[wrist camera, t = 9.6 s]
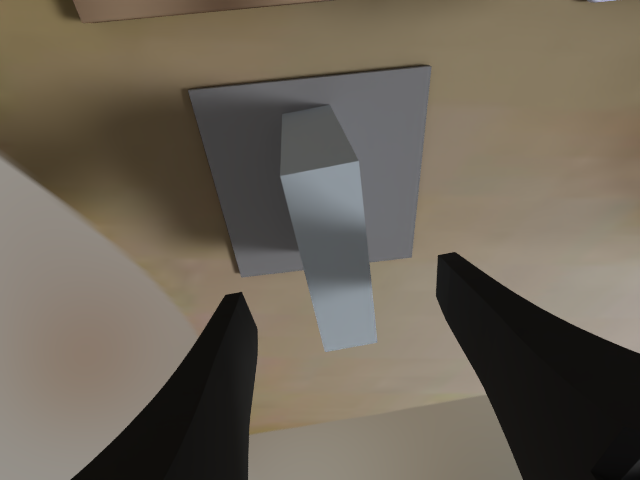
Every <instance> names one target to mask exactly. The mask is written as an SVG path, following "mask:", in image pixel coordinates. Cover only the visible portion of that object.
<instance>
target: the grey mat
mask: <svg viewBox="0 0 640 480" xmlns="http://www.w3.org/2000/svg"><path fill="white" fill-rule="evenodd" d="M430 75H431V66H429V65H426V66H416V67H406V68H396V69H386V70H376V71H366V72H356V73H346V74H337V75H327V76H317V77H307V78H297V79H287V80H277V81H267V82H257V83H247V84H237V85H227V86H217V87H207V88H197V89H190V90H188V92H189V96H190V99H191V103H192V106H193V110H194V113H195V117H196V120H197V124H198V127H199V131H200V134H201V138H202V141H203V145H204V148H205V152H206V155H207V159H208V162H209V166H210V169H211V173H212V176H213V180H214V183H215V187H216V190H217V194H218V197H219V201H220V204H221V208H222V211H223V215H224V218H225V222H226V225H227V229H228V232H229V236H230V239H231V243H232V246H233V250H234V253H235V257H236V260H237V264H238V267H239V271H240V274H241V277H249V276H257V275H266V274H275V273H283V272H292V271H300V270H304V268H303V264H302V260H301V256H300V252H299V248H298V244H297V240H296V236H295V232H294V229H293V225H292V221H291V217H290V213H289V209H288V205H287V201H286V197H285V193H284V189H283V185H282V181H281V178H280V165H281V135H282V114H285V113H290V112H295V111H300V110H305V109H311V108H316V107H321V106H326V105H330V106H331V108H332V110H333V112H334V114H335V116H336V118H337V119H338V121H339V123H340V125H341V127H342V129H343V131H344V133H345V135H346V137H347V139H348V141H349V143H350V145H351V147H352V149H353V150H354V152H355V154H356V156H357V158H358V160H359V167H360V177H361V186H362V196H363V206H364V216H365V226H366V235H367V245H368V255H369V262H377V261H385V260H394V259H403V258H411V257H412V249H413V239H414V229H415V220H416V210H417V200H418V191H419V181H420V172H421V162H422V152H423V143H424V133H425V123H426V114H427V104H428V95H429V85H430Z"/></svg>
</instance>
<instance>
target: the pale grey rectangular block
mask: <svg viewBox="0 0 640 480" xmlns="http://www.w3.org/2000/svg"><path fill="white" fill-rule="evenodd" d="M280 178H281V181H282V185H283V189H284V193H285V197H286V201H287V205H288V209H289V213H290V217H291V221H292V225H293V229H294V232H295V236H296V240H297V244H298V248H299V252H300V256H301V260H302V264H303V268H304V272H305V276H306V280H307V283H308V287H309V291H310V295H311V299H312V303H313V307H314V311H315V315H316V319H317V323H318V327H319V331H320V335H321V338H322V342H323V346H324V350H325V352H328V351H333V350H339V349H344V348H350V347H355V346H361V345H366V344H372V343H377V333H376V324H375V314H374V304H373V294H372V284H371V275H370V265H369V255H368V245H367V235H366V226H365V216H364V206H363V196H362V186H361V177H360V167H359V160H358V158H357V156H356V154H355V152H354V150H353V149H352V147H351V145H350V143H349V141H348V139H347V137H346V135H345V133H344V131H343V129H342V127H341V125H340V123H339V121H338V119H337V118H336V116H335V114H334V112H333V110H332V108H331V106H330V105H326V106H321V107H316V108H311V109H305V110H300V111H295V112H290V113H285V114H282V135H281V165H280Z"/></svg>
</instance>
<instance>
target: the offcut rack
mask: <svg viewBox="0 0 640 480" xmlns="http://www.w3.org/2000/svg"><path fill="white" fill-rule="evenodd" d="M322 1H332V0H73V2H74V4H75V7H76V9H77V12H78V14H79V17H80V19H81V21H82V23H98V22H109V21H119V20H130V19H141V18H151V17H162V16H173V15H183V14H194V13H204V12H215V11H226V10H236V9H247V8H258V7H268V6H279V5H290V4H300V3H311V2H322Z"/></svg>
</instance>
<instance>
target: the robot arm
mask: <svg viewBox="0 0 640 480" xmlns="http://www.w3.org/2000/svg"><path fill="white" fill-rule="evenodd" d="M587 1H588V2H603V1H614V0H587ZM436 297H437V300H438V302H439V305H440V307H441V310H442V312H443V314H444V317H445V319H446V321H447V323H448V325H449V327H450V328H451V330H452V332H453V334H454V335H455V337H456V339H457V341H458V342H459V344H460V346H461V348H462V349H463V351H464V353H465V355H466V356H467V358H468V360H469V362H470V363H471V365H472V367H473V369H474V370H475V372H476V374H477V376H478V378H479V379H480V381H481V383H482V385H483V387H484V389H485V391H486V394H487V396H488V398H489V400H490V402H491V404H492V407H493V409H494V411H495V414H496V416H497V418H498V420H499V423H500V425H501V427H502V430H503V432H504V434H505V437H506V439H507V441H508V444H509V446H510V449H511V451H512V453H513V456H514V458H515V461H516V463H517V466H518V468H519V470H520V473H521V476H522V478H523V480H640V354H639V353H637V352H634V351H632V350H629V349H627V348H624V347H622V346H619V345H617V344H614V343H612V342H610V341H607V340H605V339H603V338H601V337H598V336H596V335H594V334H592V333H589V332H587V331H585V330H583V329H581V328H578V327H576V326H574V325H572V324H570V323H568V322H566V321H564V320H562V319H560V318H558V317H556V316H555V315H553V314H551V313H549V312H547V311H545V310H543V309H541V308H540V307H538V306H536V305H534V304H533V303H531V302H529V301H528V300H526V299H524V298H522V297H521V296H519V295H517V294H516V293H514V292H513V291H511V290H509V289H508V288H506V287H505V286H503V285H502V284H500V283H499V282H497V281H496V280H494V279H493V278H491V277H490V276H488V275H487V274H485V273H484V272H483V271H481V270H480V269H478V268H477V267H475V266H474V265H473V264H471V263H470V262H468V261H467V260H466V259H464V258H463V257H461V256H460V255H459V254H457V253H456V252H453V253H447V254H442V255H438V266H437V286H436ZM257 355H258V332H257V326H256V324H255V322H254V319H253V317H252V315H251V312H250V310H249V308H248V305H247V303H246V301H245V298H244V296H243V294H242V292H239V293H234V294H228V295H225V296H224V298H223V300H222V301H221V303H220V304H219V306H218V308H217V309H216V311H215V313H214V314H213V316H212V317H211V319H210V321H209V322H208V324H207V326H206V327H205V329H204V330H203V332H202V333H201V335H200V336H199V338H198V339H197V341H196V343H195V344H194V346H193V347H192V349H191V350H190V351H189V353H188V354H187V356H186V357H185V358H184V360H183V361H182V363H181V364H180V366H179V367H178V368H177V370H176V371H175V372H174V373H173V375H172V376H171V377H170V379H169V380H168V381H167V382H166V384H165V385H164V386H163V388H162V389H161V390H160V391H159V392H158V394H157V395H156V396H155V397H154V398H153V399H152V400H151V402H150V403H149V404H148V405H147V406H146V407H145V408H144V409H143V410H142V411H141V412H140V413H139V415H138V416H137V417H136V418H135V419H134V420H133V421H132V422H131V423H130V424H129V425H128V426H127V427H126V428H125V429H124V431H122V432H121V434H120V435H119V436H118V437H116V439H114V440H113V441H112V442H111V443H110V444H109V445H108V446H107V447H106V448H105V449H104V450H103V451H102V452H101V453H100V454H99V455H98V456H97V457H95V458H94V459H93V460H92V461H91V462H90V463H89V464H88V465H87V466H86V467H85V468H83V469H82V470H81V471H80V472H79V473H78V474H77V475H75V476H74V477H73V478H72V479H71V480H248V447H249V424H250V413H251V405H252V397H253V389H254V381H255V373H256V364H257Z"/></svg>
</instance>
